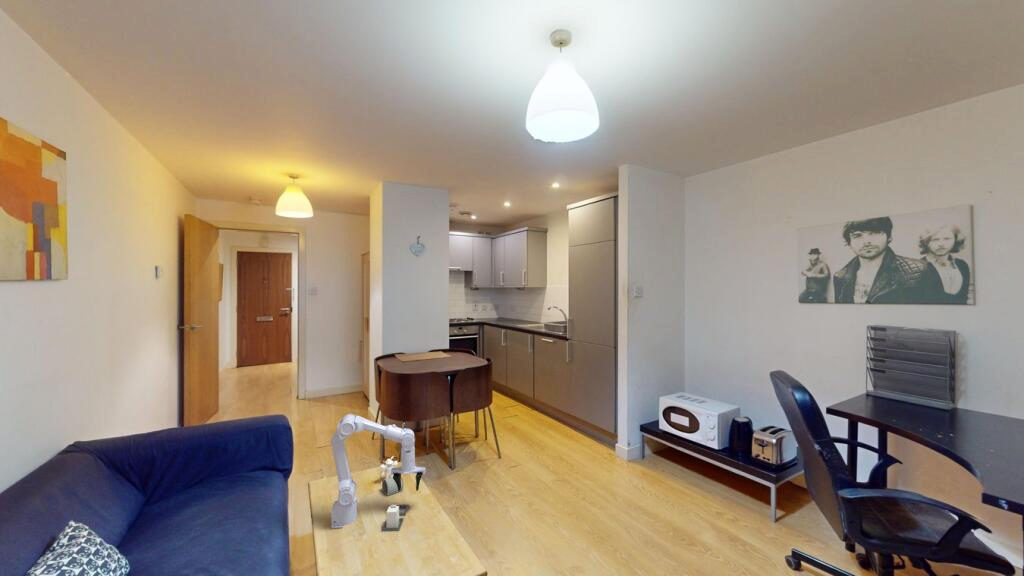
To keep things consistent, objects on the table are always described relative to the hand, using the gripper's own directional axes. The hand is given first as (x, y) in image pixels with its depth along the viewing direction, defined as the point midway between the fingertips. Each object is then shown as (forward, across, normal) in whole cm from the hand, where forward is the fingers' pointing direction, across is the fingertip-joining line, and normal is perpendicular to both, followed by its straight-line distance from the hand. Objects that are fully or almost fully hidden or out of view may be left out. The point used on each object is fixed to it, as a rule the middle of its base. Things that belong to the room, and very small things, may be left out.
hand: (408, 489), depth 172 cm
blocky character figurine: (+10, -16, +27) cm, 33 cm away
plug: (+9, -4, -11) cm, 14 cm away
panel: (+10, -4, -6) cm, 12 cm away
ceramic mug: (+10, -12, +17) cm, 23 cm away
